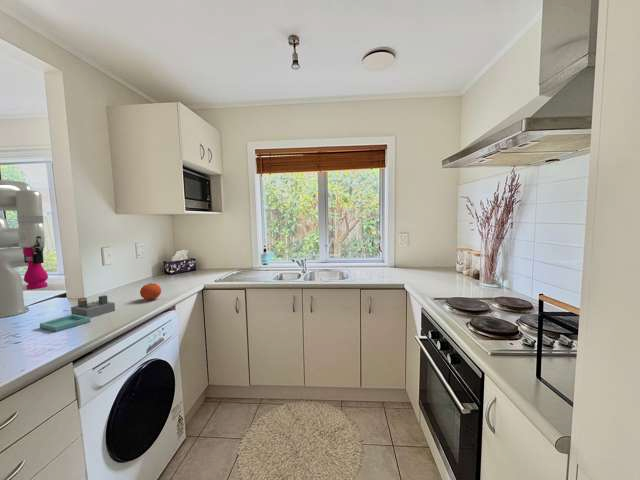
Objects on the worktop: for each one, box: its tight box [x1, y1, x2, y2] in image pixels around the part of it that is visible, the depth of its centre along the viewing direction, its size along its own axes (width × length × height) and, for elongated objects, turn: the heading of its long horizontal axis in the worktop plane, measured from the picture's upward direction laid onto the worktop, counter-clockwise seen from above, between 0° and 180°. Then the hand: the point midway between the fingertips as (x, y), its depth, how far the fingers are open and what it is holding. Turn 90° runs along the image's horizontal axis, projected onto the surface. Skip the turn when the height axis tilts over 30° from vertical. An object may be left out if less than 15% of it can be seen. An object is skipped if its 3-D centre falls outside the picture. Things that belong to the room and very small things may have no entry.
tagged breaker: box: [77, 297, 88, 307], centre depth 132 cm, size 3×2×4 cm
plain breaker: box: [98, 294, 109, 304], centre depth 136 cm, size 2×2×4 cm
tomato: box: [139, 281, 162, 301], centre depth 157 cm, size 10×10×10 cm
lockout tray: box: [39, 314, 91, 333], centre depth 119 cm, size 12×12×2 cm
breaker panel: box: [70, 299, 116, 319], centre depth 135 cm, size 12×12×4 cm
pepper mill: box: [23, 245, 49, 291], centre depth 118 cm, size 7×7×20 cm
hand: (34, 262), depth 118 cm, fingers closed on pepper mill, 5 cm apart
